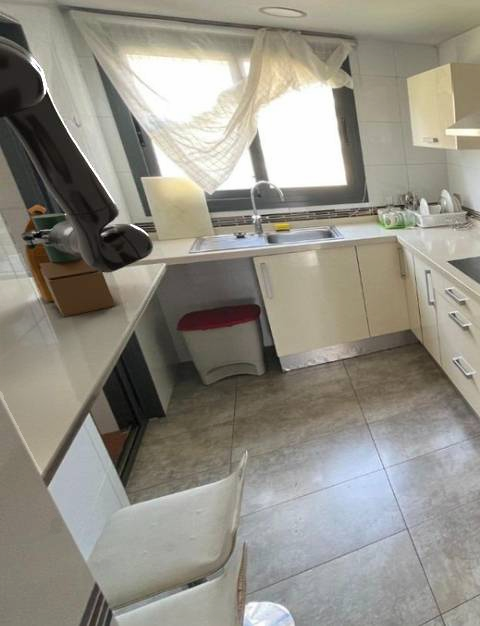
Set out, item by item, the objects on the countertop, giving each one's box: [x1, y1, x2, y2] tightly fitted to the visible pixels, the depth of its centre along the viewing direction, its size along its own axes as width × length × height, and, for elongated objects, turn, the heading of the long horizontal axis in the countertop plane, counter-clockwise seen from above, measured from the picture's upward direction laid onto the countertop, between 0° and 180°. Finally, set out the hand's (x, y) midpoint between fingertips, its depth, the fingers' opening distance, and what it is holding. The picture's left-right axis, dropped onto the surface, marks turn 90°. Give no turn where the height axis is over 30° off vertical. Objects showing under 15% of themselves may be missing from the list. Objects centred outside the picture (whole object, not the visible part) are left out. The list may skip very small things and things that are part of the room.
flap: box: [40, 258, 97, 279], centre depth 104 cm, size 6×9×1 cm, turn 142°
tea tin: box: [32, 213, 81, 262], centre depth 103 cm, size 5×5×10 cm
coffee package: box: [23, 204, 54, 302], centre depth 113 cm, size 10×12×22 cm
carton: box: [40, 269, 116, 317], centre depth 108 cm, size 12×9×9 cm
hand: (51, 232), depth 104 cm, fingers closed on tea tin, 5 cm apart
